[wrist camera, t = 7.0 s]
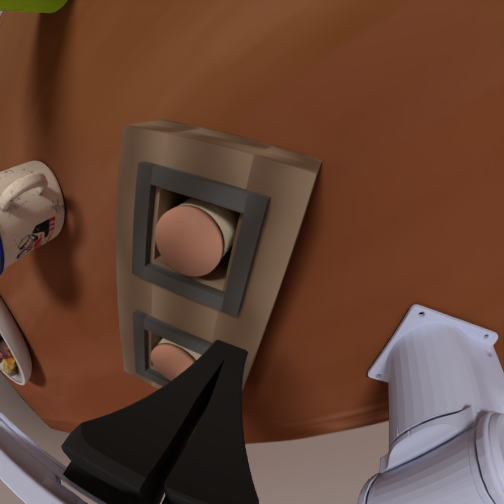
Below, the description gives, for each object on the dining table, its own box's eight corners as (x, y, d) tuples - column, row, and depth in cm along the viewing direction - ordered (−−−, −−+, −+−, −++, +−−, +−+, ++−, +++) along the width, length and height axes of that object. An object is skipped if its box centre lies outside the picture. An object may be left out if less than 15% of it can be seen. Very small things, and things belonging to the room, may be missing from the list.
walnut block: (322, 160, 18) (315, 176, 13) (244, 384, 28) (228, 424, 24) (164, 119, 19) (117, 126, 15) (147, 342, 30) (121, 375, 25)
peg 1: (254, 195, 20) (228, 221, 15) (241, 249, 22) (214, 286, 17) (197, 178, 20) (158, 198, 16) (189, 231, 22) (153, 261, 18)
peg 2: (224, 320, 25) (200, 361, 21) (217, 352, 27) (195, 391, 23) (180, 302, 26) (150, 339, 21) (177, 335, 28) (150, 371, 23)
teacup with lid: (44, 250, 29) (-30, 301, 19) (13, 183, 27) (-65, 221, 17) (96, 207, 24) (-9, 268, 14) (57, 123, 22) (-52, 154, 12)
